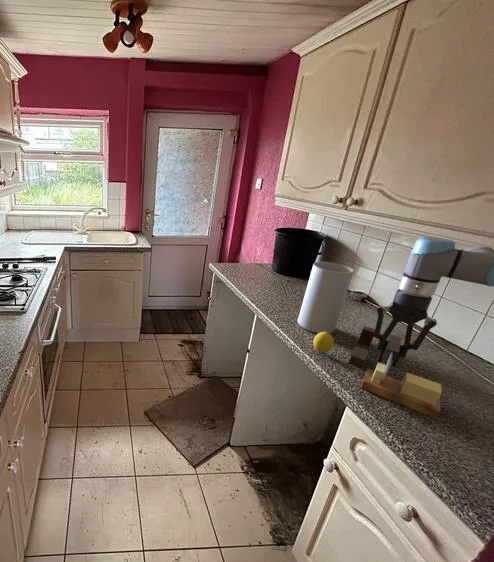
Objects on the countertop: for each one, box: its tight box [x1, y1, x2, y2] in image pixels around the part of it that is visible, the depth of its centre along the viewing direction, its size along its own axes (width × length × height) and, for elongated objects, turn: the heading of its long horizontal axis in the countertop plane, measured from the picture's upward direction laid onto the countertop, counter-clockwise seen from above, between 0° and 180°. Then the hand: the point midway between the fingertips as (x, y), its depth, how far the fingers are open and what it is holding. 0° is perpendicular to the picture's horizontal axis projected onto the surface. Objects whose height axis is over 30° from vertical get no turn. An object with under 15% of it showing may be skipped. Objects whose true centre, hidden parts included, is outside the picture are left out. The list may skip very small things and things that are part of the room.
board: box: [360, 368, 441, 419], centre depth 87 cm, size 16×8×2 cm, turn 46°
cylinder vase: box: [297, 261, 355, 335], centre depth 118 cm, size 12×12×25 cm
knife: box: [382, 333, 403, 382], centre depth 91 cm, size 3×21×6 cm, turn 137°
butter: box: [400, 372, 442, 406], centre depth 84 cm, size 7×5×4 cm
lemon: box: [312, 332, 335, 354], centre depth 105 cm, size 6×6×8 cm
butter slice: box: [372, 362, 386, 384], centre depth 89 cm, size 2×5×4 cm, turn 137°
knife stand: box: [348, 325, 375, 369], centre depth 105 cm, size 4×20×6 cm, turn 136°
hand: (386, 362), depth 96 cm, fingers closed on knife, 3 cm apart
